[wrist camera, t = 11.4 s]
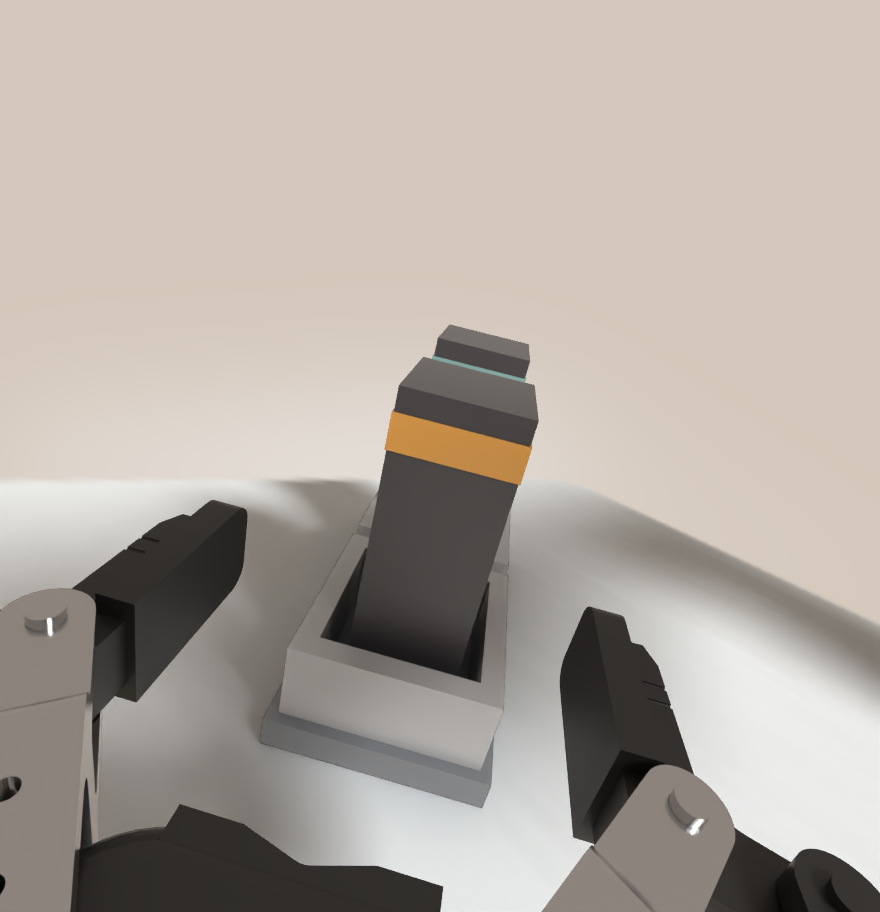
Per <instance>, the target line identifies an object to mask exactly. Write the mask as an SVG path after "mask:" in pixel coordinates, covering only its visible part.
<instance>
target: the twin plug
mask: <svg viewBox="0 0 880 912" xmlns="http://www.w3.org/2000/svg"><path fill="white" fill-rule="evenodd" d="M432 359H434V360H438V361H442V362H446V363H449V364H453V365H457V366H461V367H465V368H469V369H473V370H477V371H481V372H485V373H489V374H493V375H497V376H500V377H504V378H508V379H512V380H516V381H520V382H524V383H525V381H526V373H527V369H528V366H529V363H530V355H529V345H528V344H525V343H521V342H517V341H513V340H509V339H505V338H501V337H497V336H493V335H489V334H485V333H481V332H477V331H473V330H469V329H465V328H462V327H457V326H453V325H449V326H448V327H447V328H446V330H445V331H444V332H443V333H442V334H441V335H440V336H439V337H438V341H437V345H436V350H435V354H434V355H433V357H432Z"/></svg>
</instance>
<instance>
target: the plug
mask: <svg viewBox="0 0 880 912" xmlns="http://www.w3.org/2000/svg"><path fill="white" fill-rule="evenodd" d="M538 421H539V420H538V412H537V403H536V395H535V386H534V385H532V384H528V383H524V382H520V381H516V380H512V379H508V378H504V377H500V376H497V375H493V374H489V373H485V372H481V371H477V370H473V369H469V368H465V367H461V366H457V365H453V364H449V363H446V362H442V361H438V360H434V359H430V358H426V357H423V358H422V359H421V360H420V361H419V363H418V364H417V365H416V366H415V367H414V368H413V370H412V371H411V372H410V373H409V374H408V375H407V377H406V378H405V379H404V380H403V381H402V382H401V384H400V385H399V388H398V393H397V399H396V404H395V408H394V410H393V411H392V414H391V419H390V424H389V429H388V435H387V440H386V445H385V450H386V455H385V460H384V465H383V470H382V476H381V481H380V486H379V491H378V496H377V501H376V506H375V511H374V517H373V522H372V527H371V532H370V537H369V542H368V547H367V552H366V558H365V563H364V568H363V573H362V578H361V583H360V588H359V593H358V599H357V604H356V609H355V614H354V619H353V624H352V629H351V634H350V640H349V646H352V647H356V648H359V649H363V650H366V651H370V652H373V653H377V654H380V655H384V656H387V657H391V658H394V659H398V660H401V661H405V662H408V663H412V664H416V665H419V666H423V667H426V668H430V669H433V670H437V671H440V672H444V673H447V674H451V675H454V676H457V675H458V672H459V669H460V666H461V663H462V659H463V656H464V653H465V650H466V647H467V644H468V641H469V638H470V634H471V631H472V628H473V625H474V622H475V619H476V616H477V612H478V609H479V606H480V603H481V600H482V597H483V594H484V591H485V587H486V584H487V581H488V578H489V575H490V572H491V569H492V565H493V562H494V559H495V556H496V553H497V550H498V547H499V544H500V540H501V537H502V534H503V531H504V528H505V525H506V522H507V518H508V515H509V512H510V509H511V506H512V503H513V500H514V497H515V493H516V490H517V487H518V485H520V484H521V481H522V478H523V475H524V472H525V468H526V465H527V462H528V459H529V456H530V453H531V450H532V440H533V437H534V434H535V430H536V428H537V424H538Z"/></svg>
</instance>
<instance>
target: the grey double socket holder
mask: <svg viewBox="0 0 880 912" xmlns="http://www.w3.org/2000/svg"><path fill="white" fill-rule="evenodd" d="M378 491H379V490H378ZM377 496H378V492H377V494H376V495H375V497H374V499H373V501H372V502H371V504H370V506H369V507H368V509H367V511H366V513H365V514H364V516H363V518H362V520H361V521H360V523H359V525H358V530H357V534H353V535H352V537H351V539H350V540H349V542H348V544H347V545H346V547H345V549H344V551H343V552H342V554H341V556H340V558H339V559H338V561H337V563H336V564H335V566H334V568H333V570H332V571H331V573H330V575H329V577H328V578H327V580H326V582H325V584H324V585H323V587H322V589H321V590H320V592H319V594H318V596H317V597H316V599H315V601H314V603H313V604H312V606H311V608H310V609H309V611H308V613H307V615H306V616H305V618H304V620H303V622H302V623H301V625H300V627H299V628H298V630H297V632H296V634H295V635H294V637H293V639H292V641H291V642H290V644H289V646H288V647H287V654H286V661H285V669H284V676H283V682H282V684H281V686H280V688H279V689H278V691H277V693H276V695H275V697H274V699H273V700H272V702H271V704H270V706H269V708H268V710H267V711H266V713H265V715H264V717H263V719H262V728H261V736H260V743H264V744H267V745H270V746H274V747H277V748H281V749H284V750H287V751H291V752H294V753H297V754H301V755H304V756H308V757H311V758H314V759H318V760H321V761H325V762H328V763H331V764H335V765H338V766H342V767H345V768H348V769H352V770H355V771H358V772H362V773H365V774H369V775H372V776H375V777H379V778H382V779H386V780H389V781H392V782H396V783H399V784H403V785H406V786H409V787H413V788H416V789H420V790H423V791H426V792H430V793H433V794H436V795H440V796H443V797H447V798H450V799H453V800H457V801H460V802H464V803H467V804H470V805H474V806H477V807H481V808H482V807H483V805H484V802H485V800H486V797H487V795H488V792H489V790H490V787H491V779H492V759H493V740H494V734H495V731H496V729H497V726H498V724H499V721H500V718H501V716H502V713H503V711H504V688H505V658H506V628H507V598H508V576H507V575H506V572H507V569H508V566H509V537H510V512H509V515H508V518H507V522H506V525H505V528H504V531H503V534H502V537H501V540H500V544H499V547H498V550H497V553H496V556H495V559H494V562H493V565H492V569H491V572H490V575H489V578H488V581H487V584H486V587H485V591H484V594H483V597H482V600H481V603H480V606H479V609H478V612H477V616H476V619H475V622H474V625H473V628H472V631H471V634H470V638H469V641H468V644H467V647H466V650H465V653H464V656H463V659H462V663H461V666H460V669H459V672H458V675H457V676H454V675H451V674H447V673H444V672H440V671H437V670H433V669H430V668H426V667H423V666H419V665H416V664H412V663H408V662H405V661H401V660H398V659H394V658H391V657H387V656H384V655H380V654H377V653H373V652H370V651H366V650H363V649H359V648H356V647H352V646H349V640H350V634H351V629H352V624H353V619H354V614H355V609H356V604H357V599H358V593H359V588H360V583H361V578H362V573H363V568H364V563H365V558H366V552H367V547H368V542H369V537H370V532H371V527H372V522H373V517H374V511H375V506H376V501H377Z"/></svg>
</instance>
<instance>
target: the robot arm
mask: <svg viewBox="0 0 880 912" xmlns="http://www.w3.org/2000/svg"><path fill="white" fill-rule="evenodd" d="M246 528H247V511H246V509H244V508H241V507H237V506H234V505H230V504H227V503H223V502H219V501H216V500H211V501H209V502H208V503H207V504H205V505H204V506H203V507H202V508H200V509H199V510H198V511H197V512H195V513H194V514H193V515H192V516H188V515H184V514H182V515H179V516H177V517H174V518H171V519H169V520H166V521H163V522H161V523H159V524H157V525H156V526H155V527H153V528H152V529H151V530H149V531H148V532H147V533H145V534H144V535H143V536H142V538H141V539H137V540H136V541H135V542H133V543H132V544H131V545H129V546H128V548H127V550H125V549H124V550H123V551H121V552H120V553H119V554H117V555H116V556H115V557H113V558H112V559H111V560H109V561H108V562H107V563H105V564H104V565H103V566H101V567H100V568H99V569H97V570H96V571H95V572H93V573H92V574H91V575H89V576H88V577H87V578H85V579H84V580H83V581H81V582H80V583H79V584H77V585H76V586H75V587H73V588H72V589H60V588H59V589H49V590H42V591H38V592H34V593H31V594H28V595H26V596H23V597H21V598H19V599H17V600H15V601H13V602H11V603H10V604H8V605H7V606H6V607H4V608H3V609H2V610H0V912H440V909H441V901H442V892H443V886H440V885H436V884H433V883H430V882H427V881H424V880H420V879H417V878H414V877H411V876H408V875H404V874H401V873H398V872H395V871H392V870H388V869H385V868H382V867H379V866H308V865H303V864H300V863H298V862H297V861H295V860H294V859H292V858H291V857H289V856H288V855H287V854H285V853H284V852H282V851H281V850H279V849H278V848H277V847H275V846H274V845H272V844H271V843H269V842H268V841H267V840H265V839H264V838H262V837H261V836H260V835H258V834H257V833H255V832H254V831H252V830H251V829H250V828H248V827H247V826H245V825H244V824H242V823H238V822H235V821H232V820H229V819H226V818H222V817H219V816H216V815H213V814H210V813H206V812H203V811H200V810H197V809H194V808H190V807H187V806H184V805H181V804H180V805H179V806H178V808H177V810H176V811H175V813H174V815H173V816H172V818H171V819H170V821H169V823H168V824H167V826H166V827H154V828H146V829H138V830H134V831H130V832H125V833H121V834H118V835H115V836H112V837H109V838H106V839H103V840H101V841H98V799H99V775H100V752H101V728H102V711H101V710H102V709H103V708H104V707H105V706H106V705H107V704H108V703H109V701H110V700H111V699H112V698H113V697H114V696H117V697H120V698H124V699H127V700H130V701H134V702H137V701H138V700H139V699H140V697H141V696H142V695H143V694H144V693H145V692H146V690H147V689H148V688H149V687H150V686H151V685H152V683H153V682H154V681H155V680H156V679H157V678H158V676H159V675H160V674H161V673H162V672H163V671H164V669H165V668H166V667H167V666H168V665H169V663H170V662H171V661H172V660H173V659H174V658H175V656H176V655H177V654H178V653H179V652H180V651H181V649H182V648H183V647H184V646H185V645H186V644H187V642H188V641H189V640H190V639H191V638H192V637H193V635H194V634H195V633H196V632H197V631H198V630H199V628H200V627H201V626H202V625H203V624H204V623H205V621H206V620H207V619H208V618H209V617H210V615H211V614H212V613H213V612H214V611H215V610H216V608H217V607H218V606H219V605H220V604H221V603H222V601H223V600H224V599H225V598H226V597H227V596H228V594H229V593H230V592H231V591H232V590H233V588H234V587H235V585H236V583H237V581H238V579H239V577H240V574H241V571H242V568H243V562H244V551H245V539H246ZM664 689H665V686H664V683H663V679H662V676H661V673H660V670H659V667H658V665H657V664H656V663H655V661H654V660H653V659H652V657H651V656H650V655H649V653H648V652H647V651H646V649H645V648H644V647H643V646H642V645H639V644H635V643H632V642H631V640H630V636H629V633H628V629H627V626H626V622H625V619H624V617H623V616H621V615H618V614H614V613H611V612H607V611H604V610H600V609H596V608H593V607H587V608H586V609H585V611H584V613H583V615H582V617H581V620H580V622H579V624H578V627H577V629H576V631H575V634H574V636H573V638H572V641H571V643H570V645H569V648H568V650H567V652H566V655H565V657H564V660H563V664H562V668H561V674H560V694H561V705H562V716H563V727H564V738H565V750H566V761H567V772H568V783H569V795H570V806H571V817H572V828H573V837H574V838H577V839H580V840H583V841H587V842H590V843H593V844H594V847H593V846H591V847H590V848H589V849H588V850H587V851H586V853H585V854H584V855H583V856H582V858H581V859H580V861H579V862H578V863H577V865H576V866H575V867H574V869H573V870H572V871H571V873H570V874H569V875H568V877H567V878H566V880H565V881H564V882H563V884H562V885H561V886H560V888H559V889H558V890H557V892H556V893H555V894H554V896H553V897H552V899H551V900H550V901H549V903H548V904H547V905H546V907H545V908H544V909H543V911H542V912H880V893H879V891H878V890H877V889H876V888H875V887H874V886H873V885H872V884H871V883H870V882H869V881H868V880H867V879H866V878H865V877H864V876H863V875H862V874H860V873H859V872H858V871H857V870H855V869H854V868H853V867H852V866H850V865H849V864H847V863H846V862H844V861H843V860H841V859H840V858H838V857H836V856H834V855H832V854H830V853H827V852H825V851H822V850H818V849H805V850H803V851H801V852H799V853H798V855H797V856H796V857H795V858H794V859H793V861H792V862H790V861H788V860H786V859H785V858H783V857H781V856H779V855H778V854H776V853H774V852H773V851H771V850H769V849H768V848H766V847H764V846H763V845H761V844H759V843H758V842H756V841H754V840H753V839H751V838H749V837H748V836H746V835H744V834H743V833H741V832H740V831H738V830H737V829H736V828H734V824H733V821H732V818H731V816H730V814H729V812H728V810H727V808H726V807H725V805H724V804H723V802H722V801H721V800H720V798H719V797H718V796H717V794H716V793H715V792H714V791H713V790H712V789H711V788H710V787H709V786H708V785H707V784H706V783H704V782H703V781H702V780H701V779H699V778H698V777H697V776H695V775H694V773H693V770H692V767H691V764H690V761H689V758H688V755H687V752H686V749H685V746H684V743H683V740H682V737H681V734H680V731H679V728H678V725H677V722H676V719H675V716H674V713H673V710H672V709H670V705H671V704H670V701H669V698H668V695H667V692H666V691H665V690H664Z"/></svg>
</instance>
